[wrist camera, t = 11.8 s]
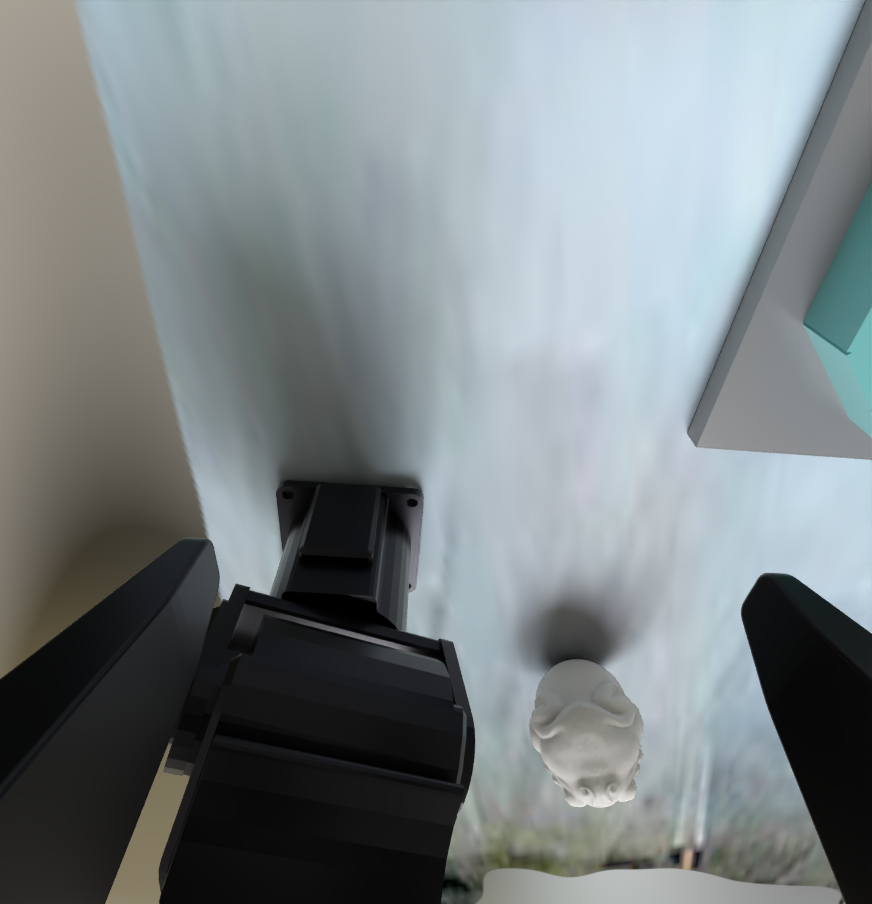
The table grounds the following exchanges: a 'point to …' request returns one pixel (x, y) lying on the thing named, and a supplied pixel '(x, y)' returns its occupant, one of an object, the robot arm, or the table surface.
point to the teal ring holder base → (808, 297)
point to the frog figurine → (587, 733)
